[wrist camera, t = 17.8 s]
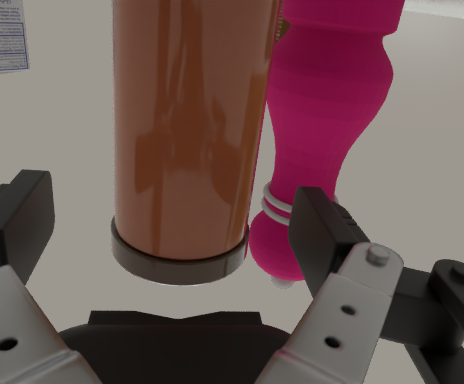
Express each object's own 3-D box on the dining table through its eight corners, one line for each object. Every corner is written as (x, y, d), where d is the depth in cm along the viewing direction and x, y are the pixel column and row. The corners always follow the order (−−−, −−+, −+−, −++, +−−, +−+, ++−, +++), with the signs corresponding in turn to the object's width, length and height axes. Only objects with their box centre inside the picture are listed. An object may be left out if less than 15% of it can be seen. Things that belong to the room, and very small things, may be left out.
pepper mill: (379, -13, 17) (292, 338, 26) (436, 1, 22) (347, 291, 30) (249, -24, 21) (213, 281, 30) (322, -10, 26) (273, 247, 35)
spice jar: (87, -54, 9) (99, 285, 14) (312, -23, 10) (256, 288, 15) (119, -39, 14) (121, 207, 19) (270, -19, 15) (238, 213, 19)
